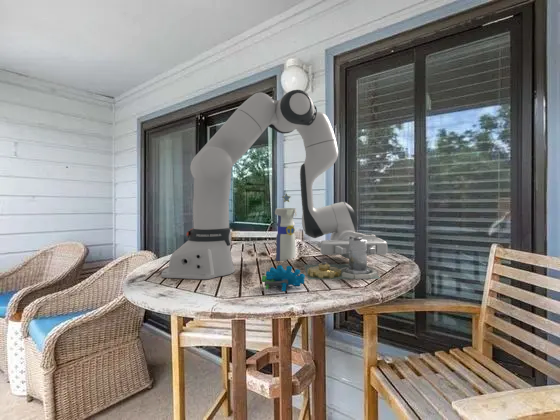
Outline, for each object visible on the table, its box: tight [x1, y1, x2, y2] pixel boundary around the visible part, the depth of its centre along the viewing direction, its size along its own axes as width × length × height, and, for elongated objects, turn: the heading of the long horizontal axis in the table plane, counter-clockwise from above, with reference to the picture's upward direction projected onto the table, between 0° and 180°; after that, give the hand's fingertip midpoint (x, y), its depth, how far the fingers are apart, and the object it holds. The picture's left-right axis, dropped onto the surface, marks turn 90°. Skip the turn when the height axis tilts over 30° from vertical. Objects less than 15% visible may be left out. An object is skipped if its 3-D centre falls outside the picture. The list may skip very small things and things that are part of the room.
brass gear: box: [306, 261, 341, 280], centre depth 96 cm, size 10×10×4 cm
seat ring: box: [341, 267, 378, 280], centre depth 96 cm, size 10×10×1 cm
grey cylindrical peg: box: [345, 237, 372, 274], centre depth 96 cm, size 7×7×11 cm
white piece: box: [274, 193, 298, 262], centre depth 124 cm, size 8×9×25 cm
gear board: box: [303, 263, 382, 280], centre depth 100 cm, size 20×19×1 cm
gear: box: [261, 264, 306, 292], centre depth 82 cm, size 11×6×10 cm
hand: (358, 251), depth 95 cm, fingers open, 7 cm apart
